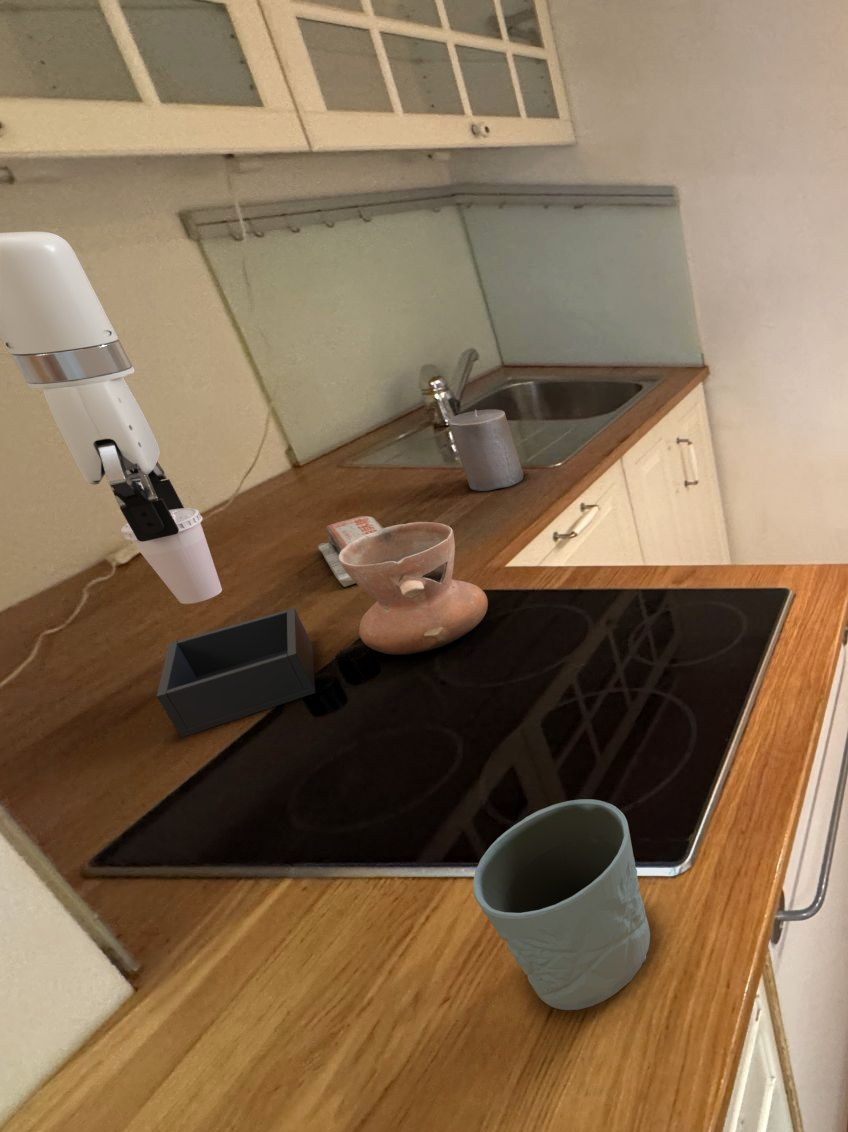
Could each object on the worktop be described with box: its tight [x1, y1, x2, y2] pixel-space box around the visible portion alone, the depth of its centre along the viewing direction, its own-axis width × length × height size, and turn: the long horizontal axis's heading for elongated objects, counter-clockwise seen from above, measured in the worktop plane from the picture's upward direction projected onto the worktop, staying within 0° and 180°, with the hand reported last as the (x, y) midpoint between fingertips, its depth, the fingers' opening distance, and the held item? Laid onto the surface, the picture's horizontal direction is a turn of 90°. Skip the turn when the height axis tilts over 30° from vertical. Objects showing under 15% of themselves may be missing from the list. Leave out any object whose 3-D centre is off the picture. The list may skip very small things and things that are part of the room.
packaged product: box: [317, 515, 388, 588], centre depth 123 cm, size 18×5×10 cm
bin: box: [156, 607, 316, 738], centre depth 93 cm, size 12×14×6 cm
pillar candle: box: [447, 408, 525, 492], centre depth 150 cm, size 10×10×15 cm
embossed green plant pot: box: [472, 798, 651, 1011], centre depth 58 cm, size 10×10×12 cm
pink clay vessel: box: [339, 521, 489, 656], centre depth 101 cm, size 18×14×14 cm
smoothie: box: [120, 482, 223, 605], centre depth 85 cm, size 6×6×14 cm
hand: (162, 524), depth 84 cm, fingers closed on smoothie, 6 cm apart
